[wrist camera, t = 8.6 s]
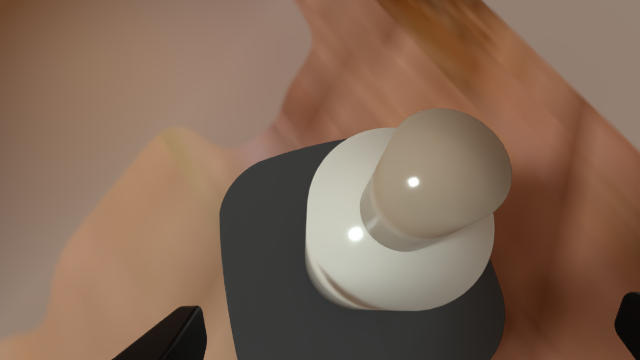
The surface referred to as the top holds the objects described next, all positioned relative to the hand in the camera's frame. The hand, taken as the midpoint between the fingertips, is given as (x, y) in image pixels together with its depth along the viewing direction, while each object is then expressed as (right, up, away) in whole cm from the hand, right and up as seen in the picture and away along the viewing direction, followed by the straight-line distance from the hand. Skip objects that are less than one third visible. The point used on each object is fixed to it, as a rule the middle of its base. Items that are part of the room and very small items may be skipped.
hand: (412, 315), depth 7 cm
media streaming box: (0, -2, +14) cm, 14 cm away
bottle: (0, -1, +11) cm, 11 cm away
